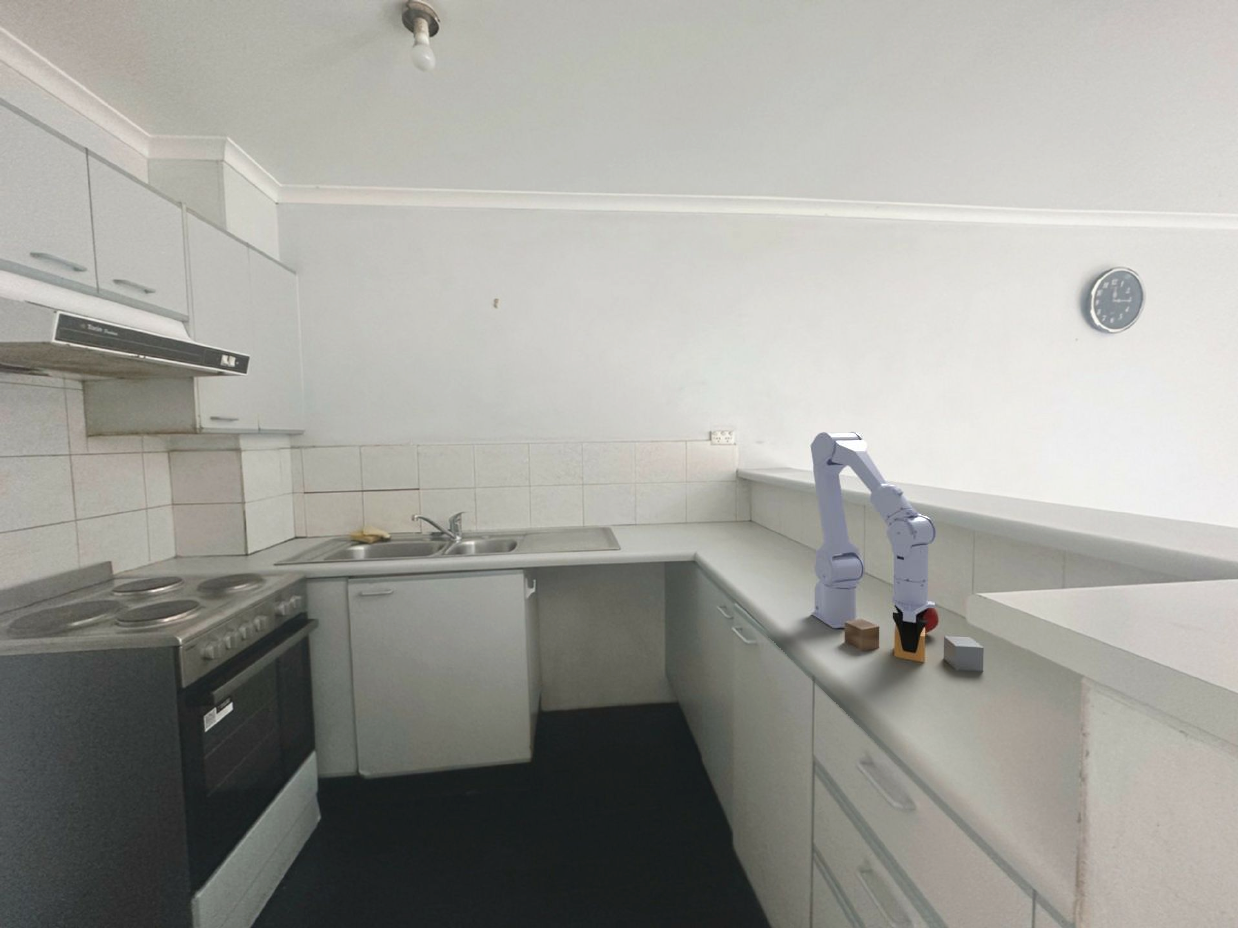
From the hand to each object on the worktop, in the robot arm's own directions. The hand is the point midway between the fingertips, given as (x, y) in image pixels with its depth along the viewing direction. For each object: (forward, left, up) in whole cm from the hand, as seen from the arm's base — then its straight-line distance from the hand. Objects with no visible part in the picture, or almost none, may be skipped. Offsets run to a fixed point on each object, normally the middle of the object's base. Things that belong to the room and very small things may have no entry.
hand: (909, 646), depth 93 cm
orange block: (0, 0, -2) cm, 2 cm away
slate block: (+6, +6, -2) cm, 9 cm away
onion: (-8, +10, -2) cm, 13 cm away
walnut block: (-6, -6, -2) cm, 9 cm away
